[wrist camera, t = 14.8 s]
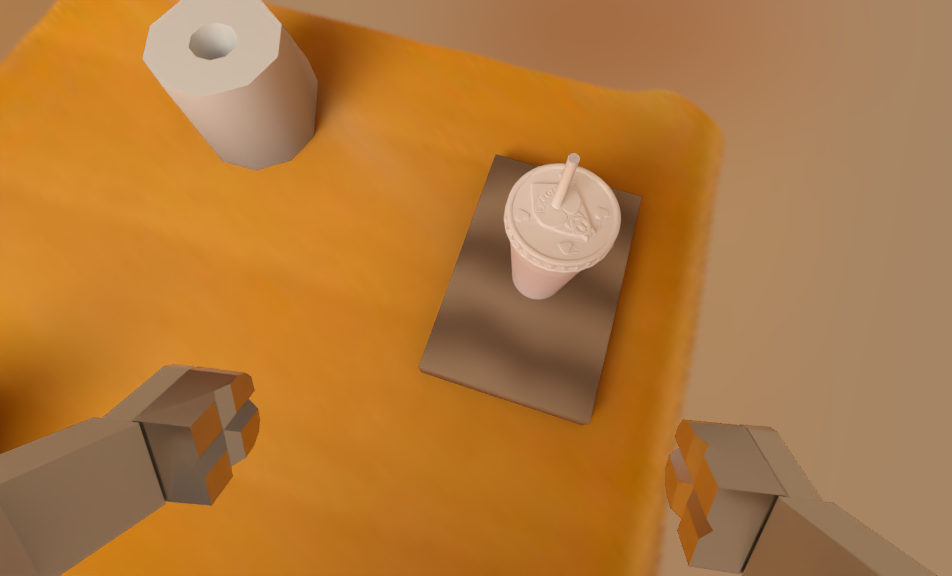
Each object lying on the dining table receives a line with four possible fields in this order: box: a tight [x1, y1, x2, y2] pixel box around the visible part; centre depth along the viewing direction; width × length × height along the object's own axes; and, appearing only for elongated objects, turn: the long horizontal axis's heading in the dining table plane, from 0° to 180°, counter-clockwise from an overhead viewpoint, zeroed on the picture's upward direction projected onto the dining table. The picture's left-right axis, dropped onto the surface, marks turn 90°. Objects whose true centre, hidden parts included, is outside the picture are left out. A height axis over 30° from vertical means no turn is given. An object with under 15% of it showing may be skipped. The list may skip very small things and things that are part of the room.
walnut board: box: [419, 155, 642, 425], centre depth 36 cm, size 18×12×2 cm, turn 162°
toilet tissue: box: [142, 0, 318, 170], centre depth 38 cm, size 9×13×9 cm
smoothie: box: [504, 153, 621, 300], centre depth 29 cm, size 6×6×14 cm
